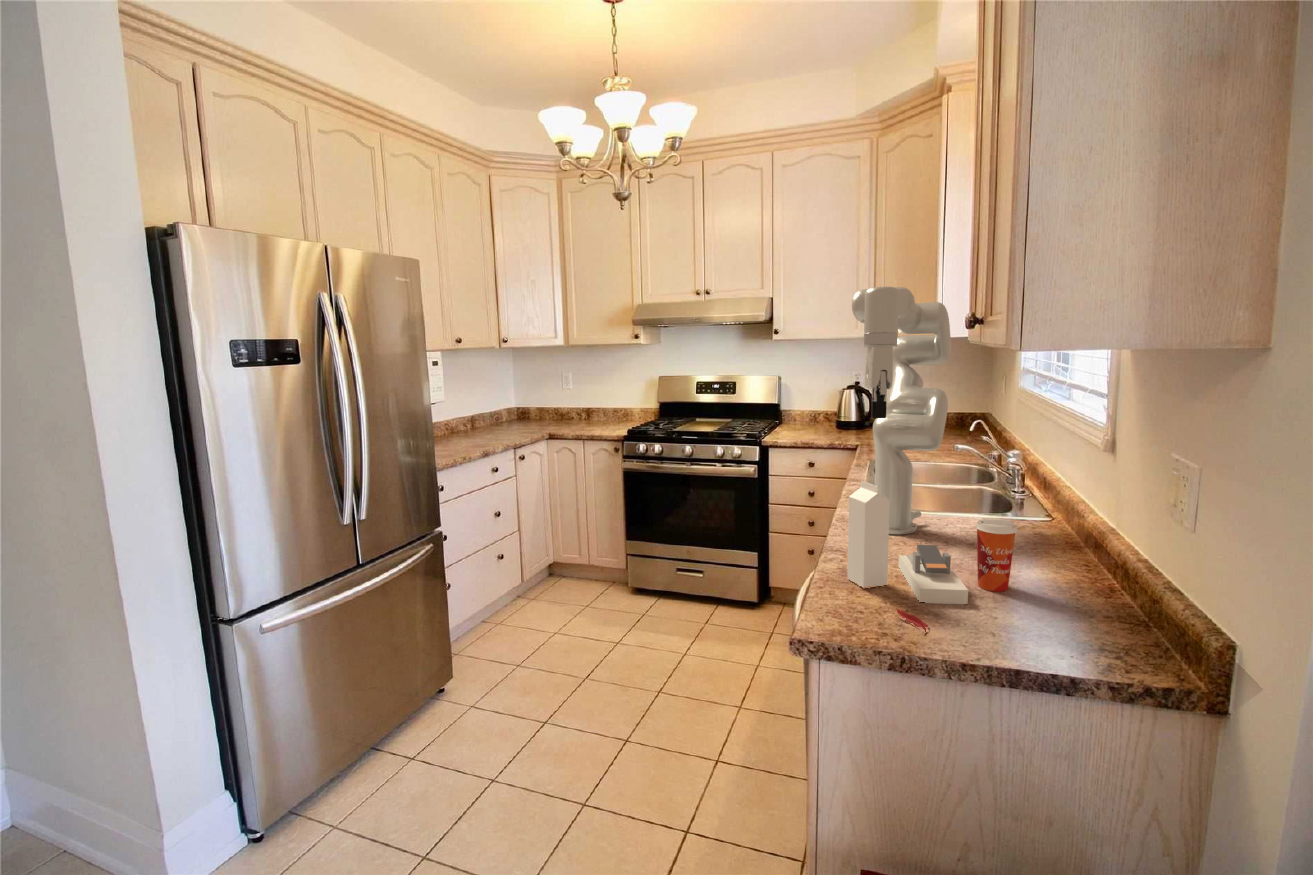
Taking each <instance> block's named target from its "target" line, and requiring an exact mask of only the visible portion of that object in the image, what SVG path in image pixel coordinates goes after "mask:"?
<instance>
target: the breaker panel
mask: <svg viewBox="0 0 1313 875" xmlns="http://www.w3.org/2000/svg"><path fill="white" fill-rule="evenodd" d="M941 556H942V558H943V560H944V562H945V564H946V567H947V573H926V571H925V569H924V566H923V564H922V561H921V559H920V558H921V556H920V554H919V553H918V552H917V551H913V552H912V555H911V554H906V555H905V554H904V555H901V554H899V555H898V565H897V566H898V567H899V568H900V569H899V568H898V569H899V571H900V570H901V571H900V573H901V572H902V573H903V574H902V573H901V574H902V576H903V575H904V576H903V578H904V577H905V578H906V579H905V578H904V579H905V581H906V580H907V581H906V582H908V583H909V584H908V583H907V584H908V586H909V585H910V586H911V588H912V589H911V588H910V589H911V591H912V590H913V591H914V593H913V594H914V596H915V595H916V596H915V598H916V597H917V598H916V599H917V601H918V600H919V601H918V603H919V602H925V603H924V604H938V605H940V604H941V605H942V604H943V605H964V604H969V603H968V600H969V589H968V588H967V587H966V585H965V584H964V583H963V582H962V581H961V579H960V578H959V577H958V576H957V574H955V572H954V571H953V569H952V568H951V562H952V561H951V560H952V559H951V558H952V556H951V555H950V553H949V552H942V554H941ZM910 586H909V587H910ZM913 591H912V592H913Z"/></svg>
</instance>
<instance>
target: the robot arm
mask: <svg viewBox="0 0 1313 875" xmlns="http://www.w3.org/2000/svg"><path fill="white" fill-rule="evenodd" d="M851 311H852V314H853V316H854V318H855V319H856V320H857V321H858V322H860V323H862V324H864V325H863V327H864V328H863V348H867V349H866V358H865V373H864V387H866V388H868V390H871V408H870V412H871V413H870V417H871V418H872V419H874V421H873V423H872V436H873V437H872V438H873V444H874V456H875V457H874V458H875V460H874V461H875V466H874V468H875V469H874V485H876V486H878V493H879V494H880V495H882V496H884V497H886V498H887V499H889V500H890V508H889V535H909V534H913V533H916V531H917V528H918V525H917V524H916V523H914V522H913V520H915V519H917V518H921V517H922V512H921V511H920V510H914V511H913V510H912V501H913V500H912V494H913V493H912V492H913V464H912V461H911V460H910V458H909V457H908V455H907V454H906V453H905V451H918V452H935V451H936V450H938V449H939V448H940V446H941V444H942V442H943V438H944V433H945V427H946V423H947V416H948V408H949V401H948V396H947V393H946V392H945V391H944V390H943V389H940V388H935V387H924V380H923V378H922V377H921V375H920V374H919V372H918V371H917V370H915V369H914V368H913V367H912V366H914V365H915V366H933V365H935V366H938V365H944V364H946V363H947V362H949V360H950V358H951V355H952V339H951V338H952V337H951V328H950V326H951V324H950V317H949V313H948V309H947V307H946V306H945V305H944V304H943V303H942V302H938V301H937V302H936V301H935V302H934V301H933V302H915V296H914V294H913V293H912V291H911V290H910V289H909V288H906V287H902V286H901V287H899V286H898V287H896V286H874V287H869V288H864V289H860V290H857V291H856V292H855V294H854V295H853V297H852V300H851ZM898 334H902V335H900V336H898Z"/></svg>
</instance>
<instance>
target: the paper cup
mask: <svg viewBox="0 0 1313 875" xmlns="http://www.w3.org/2000/svg"><path fill="white" fill-rule="evenodd" d="M974 527H975V529H976V533H977V534H976V538H977V539H976V541H977V542H976V543H977V544H976V545H977V546H976V556H977V557H976V558H977V585H978V587H979V588H980V589H982V590H984V591H988V592H995V593H1002V592H1007V590H1008V589H1009V583H1010V577H1011V571H1012V570H1011V569H1012V560H1013V552H1014V546H1015V537H1016V533H1017V532H1018V529H1017V526H1016V524H1015V522H1013V521H1010V520H1007V519H1003V518H999V517H998V518H996V517H985V518H980V519H978V521H977V524H976V525H975V526H974Z"/></svg>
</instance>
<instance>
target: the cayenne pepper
mask: <svg viewBox="0 0 1313 875" xmlns="http://www.w3.org/2000/svg"><path fill="white" fill-rule="evenodd" d="M896 610H897V612H898V614H900V615H901V616H902V618H906V620H905V621H907V622H909V623H913V624H914V625H915V626H917V627H922V628H923V629H924V630H925V632H926V628H925V627H929V625H928V624H927V623H926V622H924V621H923V620H922V619H921V618H919V617H918V616H916V615H913V614H910V613H908V612H905V611H903V610H901V609H896Z"/></svg>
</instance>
